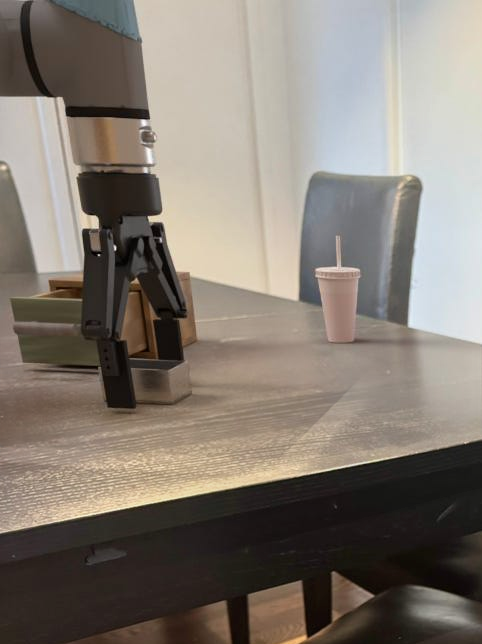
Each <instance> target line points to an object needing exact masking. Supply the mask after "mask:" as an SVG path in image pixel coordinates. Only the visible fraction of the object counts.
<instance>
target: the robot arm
mask: <svg viewBox="0 0 482 644" xmlns="http://www.w3.org/2000/svg"><path fill="white" fill-rule="evenodd" d="M137 17H138V16H137V12H136V7H135V1H134V0H0V98H1V97H2V98H12V97H13V98H30V97H31V98H32V97H33V98H35V97H36V98H39V97H41V98H44V97H46V98H49V99H53V98H54V99H55V98H56V99H57V98H62V100H63V101H62V102H63V104H64V112H65V117H66V123H67V130H68V131H67V132H68V136H69V137H68V138H69V143H70V150H71V156H72V163H73V164H74V165H75V166H80V170H81V171H80V172H78V173H77V176H76V177H75V178H76V185H77V189H78V190H77V191H78V196H79V203H80V208H81V211H82V212H83V214H85V215H87V216H92V217H93V216H94V217H96V218H97V220H98V228H88V227H87V228H86V227H85V228H82V230H81V240H82V247H83V270H82V271H83V272H82V273H83V291H82V313H81V333H82V335H83V336H84V338H85V340H86V341H96V342H97V348H98V354H99V360H100V366H99V367H101V372H102V377H103V383H104V389H105V395H106V401H107V402H106V401H105V402H106V406H107V409H125V410H127V409H128V410H134V409H136V408H137V407H138V406H137V403H136V398H135V392H134V385H133V379H132V373H131V366H130V360H129V353H128V347H127V340H120V339H121V334H122V329H123V323H124V317H125V311H126V305H127V300H128V294H129V288H130V283H131V282H132V281H134V280H135V279H136V278H137V279H138V281H139V283H140V285H141V287H142V289H143V291H144V293H145V295H146V297H147V299H148V300H149V302H150V304H151V306H152V308H153V310H154V312H155V314H156V316H157V317H158V318H161V319H155V320H153V325H154V332H155V339H156V346H157V353H158V358H157V359H159V360H182V361H185V354H184V347H183V346H182V338H181V330H180V322H179V320H178V318H179V319H186V318H187V316H188V312H187V309H186V301H185V298H184V295H183V292H182V289H181V286H180V283H179V279H178V276H177V273H176V268H175V267H176V266H175V264H174V261H173V257H172V254H171V251H170V248H169V246H168V239H167V235H166V228H165V224H164V223H163V222H162V221H150V220H149V217H155V216H160V215H161V214H162V213H163V203H162V194H161V185H160V178H159V177H157V174H155V173H152V171H151V168H154V167H155V166H156V165H157V161H156V152H155V145H154V143H156V142H157V140H158V136H157V134H156V132H155V131H153V130H152V121H151V114H150V107H149V98H148V90H147V82H146V81H147V80H146V73H145V64H144V63H145V62H144V55H143V45H142V44H143V37H142V36H141V34H140V29H139V23H138V18H137ZM174 296H175V297H174ZM175 298H176V299H175ZM92 321H93V322H92Z"/></svg>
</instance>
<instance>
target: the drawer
mask: <svg viewBox="0 0 482 644" xmlns="http://www.w3.org/2000/svg"><path fill="white" fill-rule="evenodd" d="M82 291H83V288H76V287H69V288H65V289H60V290H56V291H52V292H50V291H48V292H43V293H40V294H35V295H31V296H17V295H15V296H11V297H9V300H10V301H9V302H10V306H11V310H12V315H13V320H14V322H13V324H12V330H13V332H14V334H15V335H17V341H18V346H19V350H20V356H21V360H22V363H23V364H25V363H26V364H43V365H63V366H65V365H66V366H67V365H68V366H87V367H89V366H90V367H101V366H100V360H99V354H98V348H97V342H96V341H86V340H85V338H84V336H83V335H82V333H81V313H82ZM92 322H93V321H92ZM120 340H127V347H128V353H129V355H132V354H134V353H136V352H139V351H141V350H143V349H146V348H148V347H149V343H148V336H147V329H146V321H145V314H144V307H143V300H142V292H141V290H129V294H128V300H127V305H126V311H125V317H124V323H123V329H122V334H121V339H120Z"/></svg>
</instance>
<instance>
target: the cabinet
mask: <svg viewBox="0 0 482 644" xmlns="http://www.w3.org/2000/svg"><path fill="white" fill-rule="evenodd" d="M176 273H177V276H178V279H179V283H180V286H181V289H182V292H183V295H184V298H185V301H186V309H187V312H188V316H187V318H186V319H179V318H178V320H179V322H180V330H181V338H182V346H183V348H184V347H186V346H189V345H190V344H192V343H195V342H197V341H198V334H197V326H196V318H195V317H196V316H195V309H194V300H193V292H192V290H193V289H192V284H191V283H192V282H191V273H190V271H178V270H177V271H176ZM47 281H48V286H49V292H52V291H56V290H60V289H65V288H69V287H76V288H83V272H79V273H75V274H68V275H64V276H60V277H55V278H50V279H48V280H47ZM129 290H141V292H142V300H143V307H144V314H145V321H146V329H147V336H148V343H149V347H148V348H146V349H143V350H141V351H139V352H136V353H134V354H132V355H129V358H136V359H158V353H157V346H156V339H155V332H154V325H153V320H155V319H161V318H158V317H157V316H156V314H155V312H154V310H153V308H152V306H151V304H150V302H149V300H148V299H147V297H146V295H145V293H144V291H143V289H142V287H141V285H140V283H139V281H138V279H137V278H136V279H135V280H134V281H132V282H131V283H130V288H129ZM174 297H175V296H174ZM175 299H176V298H175Z"/></svg>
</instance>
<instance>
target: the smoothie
mask: <svg viewBox="0 0 482 644" xmlns="http://www.w3.org/2000/svg"><path fill="white" fill-rule="evenodd" d="M335 248H336V266H326V267H325V266H324V267H317V268H315V270H314V271H315V275H314V276H315V277H316V278H317V282H318V288H319V289H318V290H319V293H320V300H321V305H322V311H323V318H324V323H325V324H324V325H325V330H326V335H327V342H330V343H335V344H336V343H337V344H346V343H347V344H348V343H352V342H354V341H355V330H356V319H357V318H356V317H357V304H358V293H359V292H358V291H359V280H360V278H361V277H362V275H361V269H360V268H356V267H347V266H346V267H345V266H342V254H341V253H342V252H341V236H340V235H335Z"/></svg>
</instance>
